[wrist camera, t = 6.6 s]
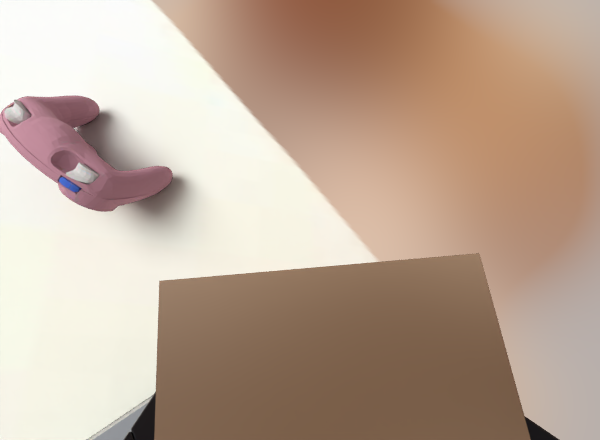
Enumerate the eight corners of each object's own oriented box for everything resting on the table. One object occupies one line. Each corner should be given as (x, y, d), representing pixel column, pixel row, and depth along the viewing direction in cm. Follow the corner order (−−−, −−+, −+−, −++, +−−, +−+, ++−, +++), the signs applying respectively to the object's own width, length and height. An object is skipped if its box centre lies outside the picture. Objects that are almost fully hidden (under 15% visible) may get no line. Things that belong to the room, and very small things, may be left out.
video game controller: (68, 143, 24) (-44, 119, 17) (96, 98, 23) (-8, 55, 17) (151, 219, 23) (68, 227, 16) (183, 175, 23) (111, 164, 16)
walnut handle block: (327, 381, 15) (594, 669, 3) (238, 395, 14) (142, 839, 2) (317, 292, 16) (479, 253, 4) (235, 301, 15) (159, 281, 4)
